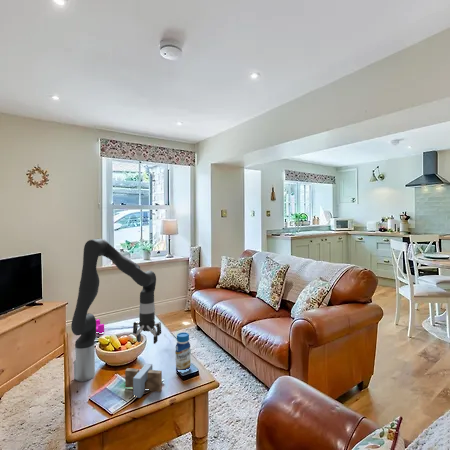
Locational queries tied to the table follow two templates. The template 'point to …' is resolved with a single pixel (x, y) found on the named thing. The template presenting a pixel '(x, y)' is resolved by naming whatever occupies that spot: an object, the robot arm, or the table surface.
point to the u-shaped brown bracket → (152, 383)
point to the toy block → (99, 326)
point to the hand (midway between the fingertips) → (147, 342)
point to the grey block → (141, 380)
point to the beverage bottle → (183, 352)
